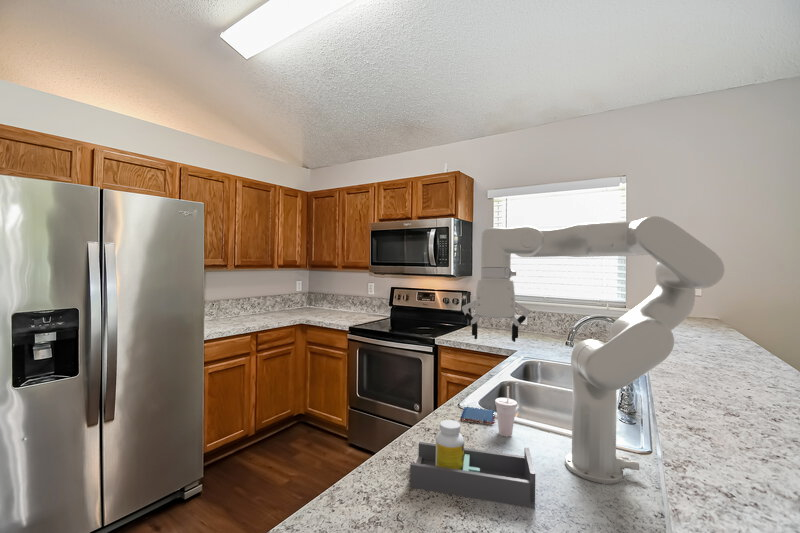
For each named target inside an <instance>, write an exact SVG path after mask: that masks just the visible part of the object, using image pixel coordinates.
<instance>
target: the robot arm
mask: <svg viewBox="0 0 800 533" xmlns="http://www.w3.org/2000/svg"><path fill="white" fill-rule="evenodd" d="M480 250H481V256H480V257H481V258H480V259H481V260H480V261H481V263H480V279H478V280H477V284H476V291H475V300H473V301H471V302H469V303H467V304H464V305H462V307H461V310H462V312H463V313H464V316H465V318H467V320H468V321H469V322H470V323H471V336H474V337H473V338H474V340H477V339H478V327H479V326H478V320H480V318H488V319H509V320H510V321H511V322H512V324H511V341H512V342H514V343H515V342H516V339H519V327H520V325H521V324H523V322H524V321H525V320H526V318H528V316H529V314H530V309H529V308H527V307H526V306H524V305H521V303H518V302H517V301H516V293H515V285H514V284H515V283H514V281H513V280H511V278H512V277H516V276H517V270H513V269H511V257H512V256H511V255H516V256H518V257H520V258H539V257H540V258H545V257H549V258H550V257H551V258H553V257H554V258H555V257H556V258H557V257H570V258H581V257H582V258H586V257H589V258H590V257H592V258H593V257H633V256H635V257H636V256H648V255H649V256H650V257H652V258H653V259H654V260H655V261H657V263H656V265H655V271H654V273H655V274H654V275H655V287H654V290H653V291H652V293H651V294H650V295H649V296H648V297H646V298H645V299H644V300H643V301H641V302H640V303H638V304H637V305H636V306H634V307H633V308H632V309H631V310H629V311H627V312H626V313H625V314H623V315H621V316H620V317H618V318H617V319H616V320H615V321H614V322H613V323H612V324H611V325H610V328H609V337H610V340H608V341H607V342H603V341H601V340H597V339H592V338H591V339H590V338H589V339H584V340H581V341H579V342H578V343H577V344H576V345H575V346H574V348H573V349H572V351H571V357H570V365H571V366H570V367H571V377H572V378H571V379H572V411H571V412H572V414H571V417H572V419H571V420H572V421H571V423H572V424H571V452H569V453H567V454H566V455H565V457H564V464H565V466H566V468H567V469H568V470H569V471H570V472H571V473H574V474H575V475H577V476H578V477H581V478H583V479H585V480H588V481H590V482H595V483H599V484H607V485H608V484H611V485H612V484H618V483H620V482H622V481H623V479H624V470H625V469H627V470H628V469H629V470H633V471H640V463H639V461H638V460H636V461H635V460H630V459H629V456H625V455H618V453H617V409H618V408H617V407H618V405H617V404H618V403H617V401H618V400H617V399H618V398H617V397H618V396H617V391H618V390H621V389H623V388H626V387H627V386H628V385H630V384H632V383H633V382H635V381H636V380H638V379H640V378H641V377H642V376H644V375H645V374H647V373H649V372H650V371H652V369H654V368H656V367H658V366H659V365H660V364H662V363H663V362H664V361H665V360H666V359H667V358H668V357H669V356H670V355H671V353H672V351H673V350H674V347H675V346H674V345H675V337H674V333H673V332H672V331H673V330H674V329H676V328H677V327H678V326H679V325H680V324H682V323H683V322H684V321H685V320H686V319H687V318H688V317H689V316H690V315H691V313H692V311H693V309H694V306H695V302H696V290H702V289H703V290H704V289H707V288H708V289H709V288H711V287H713V286H716V285H717V284H718V283H719V282H720V281H721V280H722V279H723V277H724V275H725V264H724V262H723V260H722V258H721V257H720V256H719V255H718V254H717V253H716V252H715V251H714V250H712V249H711V248H710V247H708V246H707V245H706V244H705V243H703V242H701V241H700V240H698V239H697V238H696V237H694V236H693V235H691V234H690V233H689V232H688V231H686V230H685V229H683V228H682V227H680V226H679V225H677V224H676V223H675V222H673V221H671V220H670V219H667V218H665V217H663V216H659V215H651V216H647V217H643V218H640V219H638V220H624V221H622V220H621V221H619V220H618V221H604V222H603V221H601V222H600V221H599V222H598V221H597V222H584V223H583V222H582V223H577V224H574V225H571V226H567V227H562V228H561V227H560V228H555V229H539V228H537V227H535V226H532V225H523V226H515V227H509V228H507V227H488V228H485V229H483V231H482V232H481V249H480ZM473 307H474V308H475V315H474V316H473V315H472V314H471V313H470V312H469V309H471V308H473ZM516 309H518V310H520V311H522V313H521V315H520V316H518V318H516V316H515V315H516Z"/></svg>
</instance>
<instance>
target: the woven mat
mask: <svg viewBox="0 0 800 533" xmlns="http://www.w3.org/2000/svg"><path fill="white" fill-rule="evenodd" d="M494 412H495V410H494V409H493V410H492V409H486V408H481V407H480V408H478V407H473V406H472V407H471V406H466V407H464V406H463V410H462V412H461V416H460V421H461V420H462V421H461V422H463V421H464V422H466V421H468V422H469V423H470V422H471V421H472V422H471V423H473V422H475V423H477V422H479V423H478V424H480V423H482V422H483V423H485V424H486V425H487V424H488V425H487V426H489V425H491V424H493V425H494V424H495V422H496V421H495V417H496V415H494V414H493V413H494ZM493 415H494V416H493ZM464 419H465V420H464Z"/></svg>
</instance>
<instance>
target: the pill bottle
mask: <svg viewBox="0 0 800 533" xmlns="http://www.w3.org/2000/svg"><path fill="white" fill-rule="evenodd" d="M460 432H461V424H460V422H459V421H456V420H452V419H444V420H441V421H440V423H439V432H438V433H437V434H436V436H435V444H436V464H435V466H439V467H445V468H452V469H458V470H463V464H464V448H465V439H464V437H463V435H462V434H461V433H460Z"/></svg>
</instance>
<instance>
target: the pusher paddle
mask: <svg viewBox="0 0 800 533" xmlns="http://www.w3.org/2000/svg"><path fill="white" fill-rule="evenodd" d="M463 470H465V471H471V472H478V473H480V468H476V467H470V454H465V456H464V464H463Z"/></svg>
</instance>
